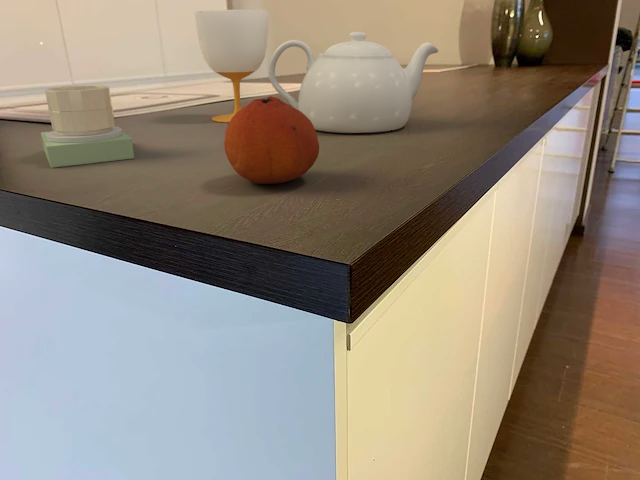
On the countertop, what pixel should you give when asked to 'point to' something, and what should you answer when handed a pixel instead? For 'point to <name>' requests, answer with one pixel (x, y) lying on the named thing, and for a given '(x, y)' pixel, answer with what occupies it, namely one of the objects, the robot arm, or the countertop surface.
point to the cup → (233, 45)
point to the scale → (86, 148)
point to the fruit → (270, 142)
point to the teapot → (355, 86)
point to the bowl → (80, 110)
